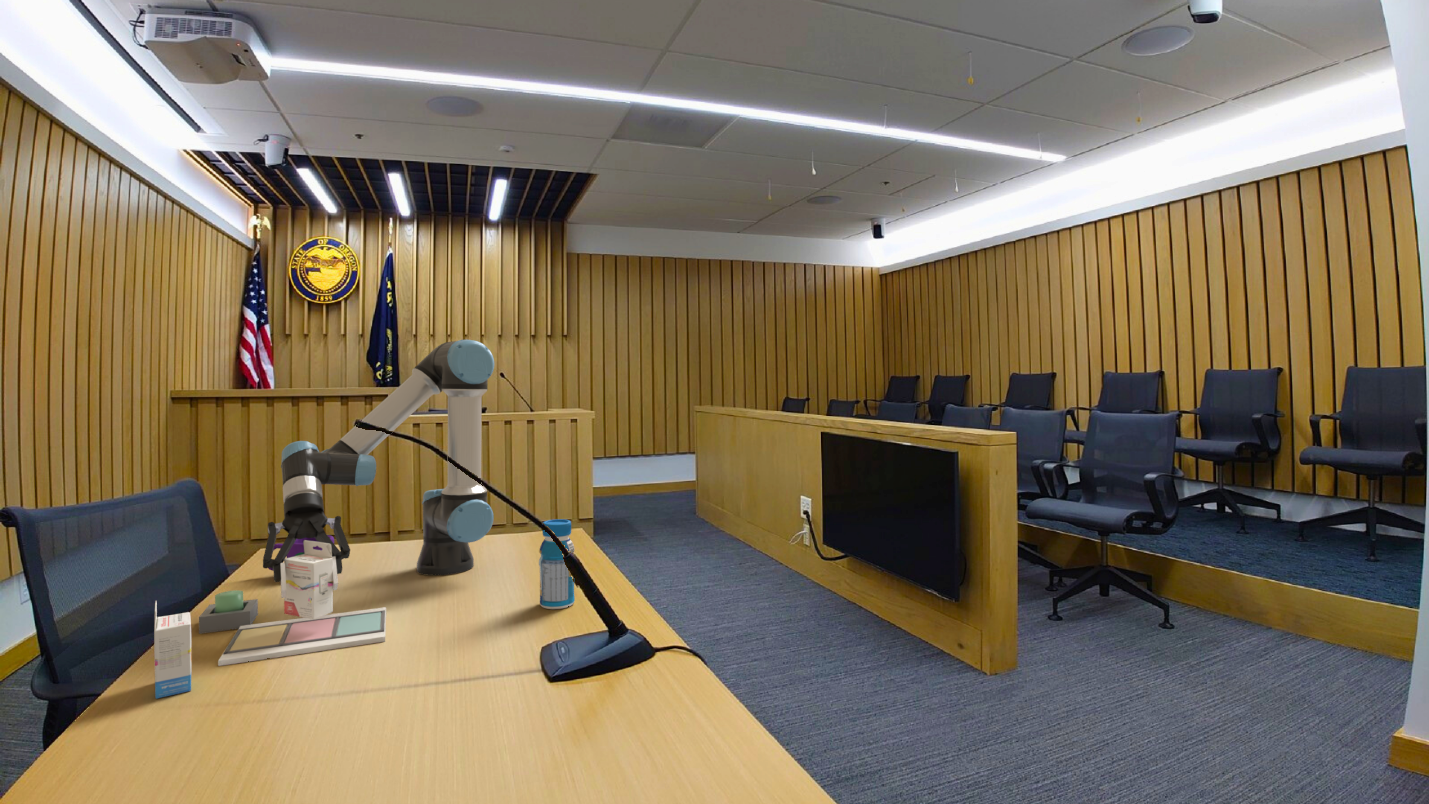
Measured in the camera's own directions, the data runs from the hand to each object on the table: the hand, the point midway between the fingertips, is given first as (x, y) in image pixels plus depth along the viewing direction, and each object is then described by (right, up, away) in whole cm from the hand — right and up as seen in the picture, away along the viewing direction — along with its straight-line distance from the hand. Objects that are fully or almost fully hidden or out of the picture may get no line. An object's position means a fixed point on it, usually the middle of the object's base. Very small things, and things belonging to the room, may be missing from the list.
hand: (310, 590), depth 137 cm
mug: (-32, -10, +47) cm, 58 cm away
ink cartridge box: (-2, -6, +3) cm, 7 cm away
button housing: (-24, -10, +10) cm, 28 cm away
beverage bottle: (+45, -10, +24) cm, 52 cm away
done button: (-24, -8, +10) cm, 27 cm away
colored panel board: (-2, -10, +3) cm, 11 cm away
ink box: (-11, -11, -20) cm, 26 cm away
